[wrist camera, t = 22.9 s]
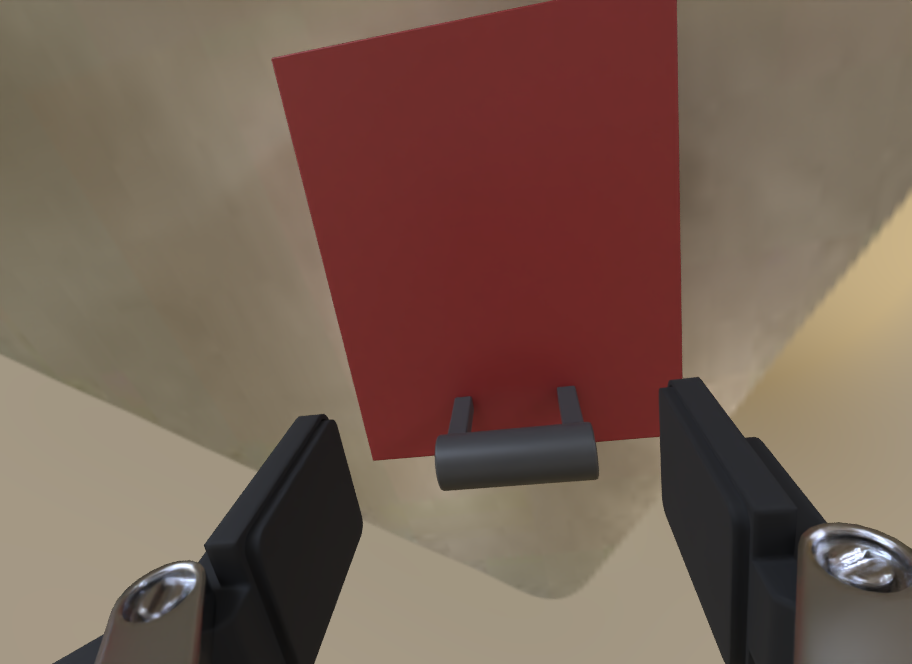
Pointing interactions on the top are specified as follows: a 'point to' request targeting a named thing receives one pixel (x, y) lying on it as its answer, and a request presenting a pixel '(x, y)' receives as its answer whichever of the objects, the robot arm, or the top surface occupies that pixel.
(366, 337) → the lid
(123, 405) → the top surface
